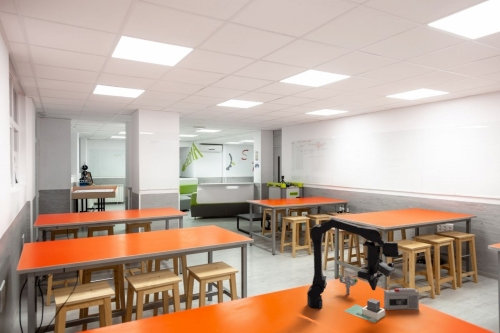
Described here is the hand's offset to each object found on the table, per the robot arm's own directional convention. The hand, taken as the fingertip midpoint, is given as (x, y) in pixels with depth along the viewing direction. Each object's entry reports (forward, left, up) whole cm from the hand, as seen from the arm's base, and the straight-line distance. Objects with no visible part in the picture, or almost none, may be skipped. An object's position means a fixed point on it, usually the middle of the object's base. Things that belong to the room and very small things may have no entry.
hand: (373, 290), depth 146 cm
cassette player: (+5, +16, -12) cm, 21 cm away
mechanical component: (-21, +12, -12) cm, 27 cm away
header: (0, 0, -11) cm, 11 cm away
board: (-4, -2, -12) cm, 13 cm away
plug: (0, 0, -11) cm, 11 cm away
